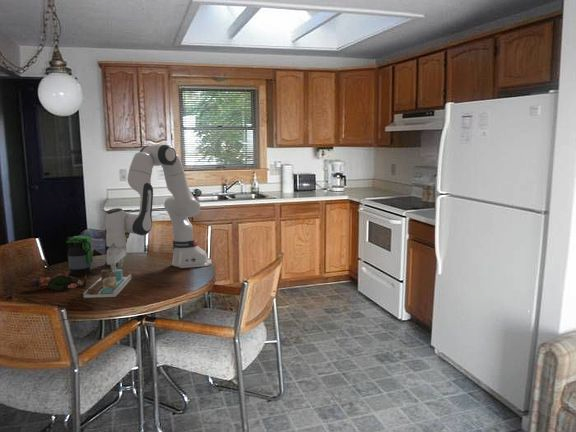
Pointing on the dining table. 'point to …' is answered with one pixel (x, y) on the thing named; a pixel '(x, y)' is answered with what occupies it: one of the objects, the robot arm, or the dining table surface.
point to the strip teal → (118, 281)
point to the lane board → (115, 292)
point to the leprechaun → (58, 282)
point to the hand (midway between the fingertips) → (117, 269)
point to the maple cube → (109, 282)
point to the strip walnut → (99, 283)
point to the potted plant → (79, 254)
